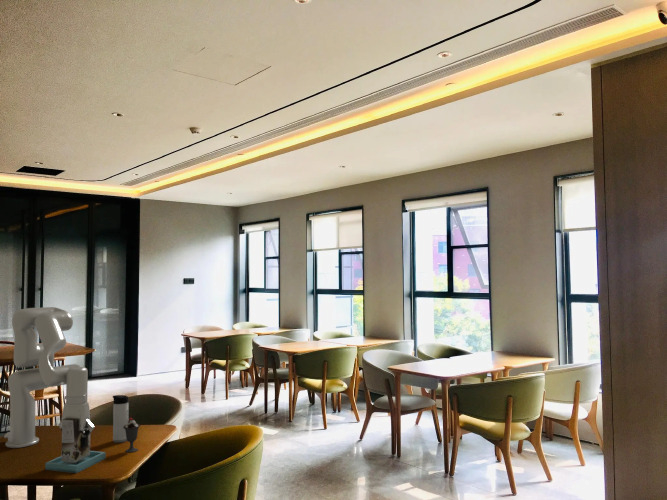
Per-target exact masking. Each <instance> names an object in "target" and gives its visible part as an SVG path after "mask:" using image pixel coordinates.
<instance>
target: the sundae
mask: <svg viewBox="0 0 667 500" xmlns="http://www.w3.org/2000/svg"><path fill="white" fill-rule="evenodd" d="M129 415H130V417H128V422H127V425H125V426H124V427H123V428H124V429H125V432H126V439H127V441H128V442H129V443H130V444H129V448H128V449H126V450H124V451H125V453H129V454H130V453H136V452H137V451H138V450H139V449H138V448H135V447H134V442H135V441H136V440H137V439H138V432H139V428H140V427H141V425H140V423H137V422H136V421H135V419H133V415H132V413H129ZM127 441H126V442H127Z"/></svg>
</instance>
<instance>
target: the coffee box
mask: <svg viewBox="0 0 667 500" xmlns="http://www.w3.org/2000/svg"><path fill="white" fill-rule="evenodd" d="M91 415H92V414H91V413H90V420H91V419H92V417H91ZM61 421H62V431H61V455H60V456H61V462H72V463H76V462H77V461H79V460H81V459H83V458H85V457H87V456H89V455H90V451H91V433H90V434H89V436H88V445H87V446H86V447H84V448H81V437H82V435H81V431H79V419H70V418H69V419H68V418H65V419H62V418H61ZM88 429H89V428H88ZM84 433H85V430H84Z"/></svg>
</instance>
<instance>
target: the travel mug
mask: <svg viewBox="0 0 667 500" xmlns="http://www.w3.org/2000/svg"><path fill="white" fill-rule="evenodd" d="M112 398H113V405H112V406H113V410H112V411H113V412H112V415H113V416H112V422H113V423H112V433H113V434H112V442H113V443H116V444H120V443H121V444H122V443H125V442H127V439H126V432H125V429H124V428H123V427H124V426H125V425H127V422H128V421H129V405H130V404H129V395H128V396H127V395H124V394H121V395H120V394H118V395H117V394H116V395H112Z"/></svg>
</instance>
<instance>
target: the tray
mask: <svg viewBox="0 0 667 500" xmlns="http://www.w3.org/2000/svg"><path fill="white" fill-rule="evenodd" d="M106 453H107V452H105V451H98V450H97V451H96V450H90V455H89V456H87V457H85V458H83V459H81V460H79V461H77V462H76V463H72V462H61V455H60V456H58V457H55V458H54V459H51V460H48V461H47V462H45V469H44V470H47V471H54V472H55V471H56V472H61V473H62V472H63V473H71V474H77V473H80V472H81V471H84V470H86V469H87V468H89V467H91V466H93V465H96V464H98V463H99V462H102V461H103V460H106V459H107V456H106Z"/></svg>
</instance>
